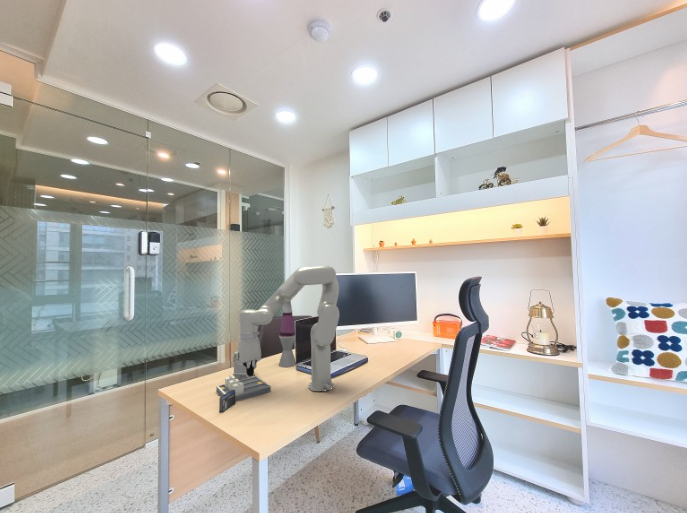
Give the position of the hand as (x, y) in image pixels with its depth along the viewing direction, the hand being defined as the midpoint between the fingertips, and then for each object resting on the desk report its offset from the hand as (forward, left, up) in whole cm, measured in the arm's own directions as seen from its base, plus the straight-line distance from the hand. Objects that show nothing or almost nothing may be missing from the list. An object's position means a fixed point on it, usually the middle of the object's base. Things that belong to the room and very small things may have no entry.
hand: (250, 375), depth 134 cm
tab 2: (+6, +6, -7) cm, 11 cm away
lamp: (+28, -34, -9) cm, 45 cm away
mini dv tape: (-6, +12, -9) cm, 16 cm away
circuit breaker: (+23, -6, -9) cm, 26 cm away
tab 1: (+11, +6, -7) cm, 15 cm away
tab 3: (0, +6, -7) cm, 9 cm away
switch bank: (+6, +1, -9) cm, 11 cm away
